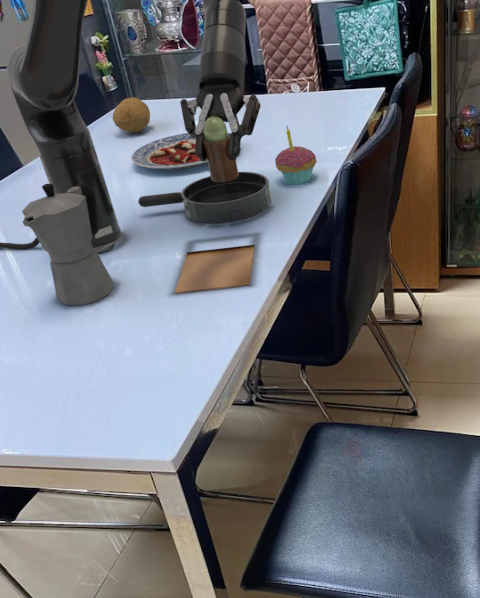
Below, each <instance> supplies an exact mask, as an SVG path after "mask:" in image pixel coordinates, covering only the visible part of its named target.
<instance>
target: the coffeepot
mask: <svg viewBox="0 0 480 598" xmlns="http://www.w3.org/2000/svg"><path fill="white" fill-rule="evenodd" d="M41 188H42V190H43V192H44V194H45V195H46V196H44V197H41V198H38V199H35V200H32V201H30V202H29V203H28V204H27V205H26V206H25V207H24V208H23V209H22V211H21V212H22V214H23V216H24V217H23V220H22V224H23V226H24V227H29V228H30V229H31V230H32V232H33V233H34V235H35V238H36V237H37V239H38V240H39V242H40V243H39V244H40V246H41V248H42V249H43V251H45V252H46V253H48V255H49V258H50V262H49V265H50V271H51V274H52V275H51V276H52V280H53V284H54V285H53V286H54V290H55V295H56V299H57V300H58V301H59V302H61V303H62V304H63V305H66V306H84V305H89V304H92V303H95V302H99V301H101V300H102V299H104V298H106V297H107V296H108V295H109V294H110V293H111V292H112V291H113V288H114V284H115V283H114V281H113V280H112V278H111V275H110V274H109V272H108V270H107V268H106V266H105V264H104V263H103V261H102V258H101V256H100V255H99V253H97V252H96V251H95V250H94V249H93V247H92V244H91V240H92V237H93V236H94V235H96V234H97V233H98V219H97V208H96V196H95V191H94V190H93V189H92V188H91V187H89V186H88V185H87V184H85V183H80V184H78V185H77V186H76V187H72V188H70V189H69V190H67V193H62V194H55V193H54V187H53V184H49V183H45V184H43V185H42V186H41ZM84 195H85V196H84ZM86 202H87V204H86ZM87 206H88V210H87ZM90 224H91V226H90Z"/></svg>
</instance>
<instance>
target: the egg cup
mask: <svg viewBox="0 0 480 598" xmlns="http://www.w3.org/2000/svg"><path fill="white" fill-rule="evenodd" d="M228 133H229V132H228V129H227V125H226V122H224V121H223V120H222V119H221V118H219V117H210V118H208V119H207V120H206V121H205V123H204V134H205V139H204V140H203V143H204V148H205V152H206V157H207V161H208V163H207V166H208V170H209V171H208V172H209V176H211V180H212V181H214V182H228V181H231V180H234V179H236V178H237V177H238V176H239V174H238V172H239V169H238V164H237V159H236V160H232V159H231V158H230V157H229V154H228V150H229V135H228Z"/></svg>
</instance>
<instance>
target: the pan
mask: <svg viewBox="0 0 480 598" xmlns="http://www.w3.org/2000/svg"><path fill="white" fill-rule="evenodd" d="M238 174H239V176H238V177H237V178H236V179H234V180H231V181H228V182H214V181H212V180H211V175H209V176H205V177H202V178H200V179H197V180H195V181H193V182H191V183H189V184H188V185H186V186H185V187H184V188H183V189H182V190H181V197H182V201H183V202H182V205H183V209H184V212H185V213H184V214H185V215H186V217H187V218H188V219H190V220H191V221H193V222H197V223H202V224H224V223H225V224H226V223H232V222H237V221H242V220H245V219H248V218H252V217H254V216H256V215H259V214H260V213H263V212H264V211H265V210H267V209H268V208H269V207H270V205H271V204H272V202H273V201H272V200H273V198H272V191H271V186H270V180H269V178H268V177H267V176H265V175H263V174H261V173H258V172H253V171H238Z"/></svg>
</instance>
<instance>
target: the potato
mask: <svg viewBox="0 0 480 598" xmlns="http://www.w3.org/2000/svg"><path fill="white" fill-rule="evenodd" d="M112 120H113V123H114V125H115V126H116V127H117V128H118V129H120V130H121V131H123V132H126V133H131V134H132V133H139V132H142V131H144V130H145V128H146V127H147V126H148V124H149V123H150V121H151V111H150V109H149V106H148V105H147V104H146V102H144V101H143V100H141V99H140V98H137V97H126V98H125V99H123V100H121V102H119V104H117V106H116V107H115V108H114V111H113V112H112Z"/></svg>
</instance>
